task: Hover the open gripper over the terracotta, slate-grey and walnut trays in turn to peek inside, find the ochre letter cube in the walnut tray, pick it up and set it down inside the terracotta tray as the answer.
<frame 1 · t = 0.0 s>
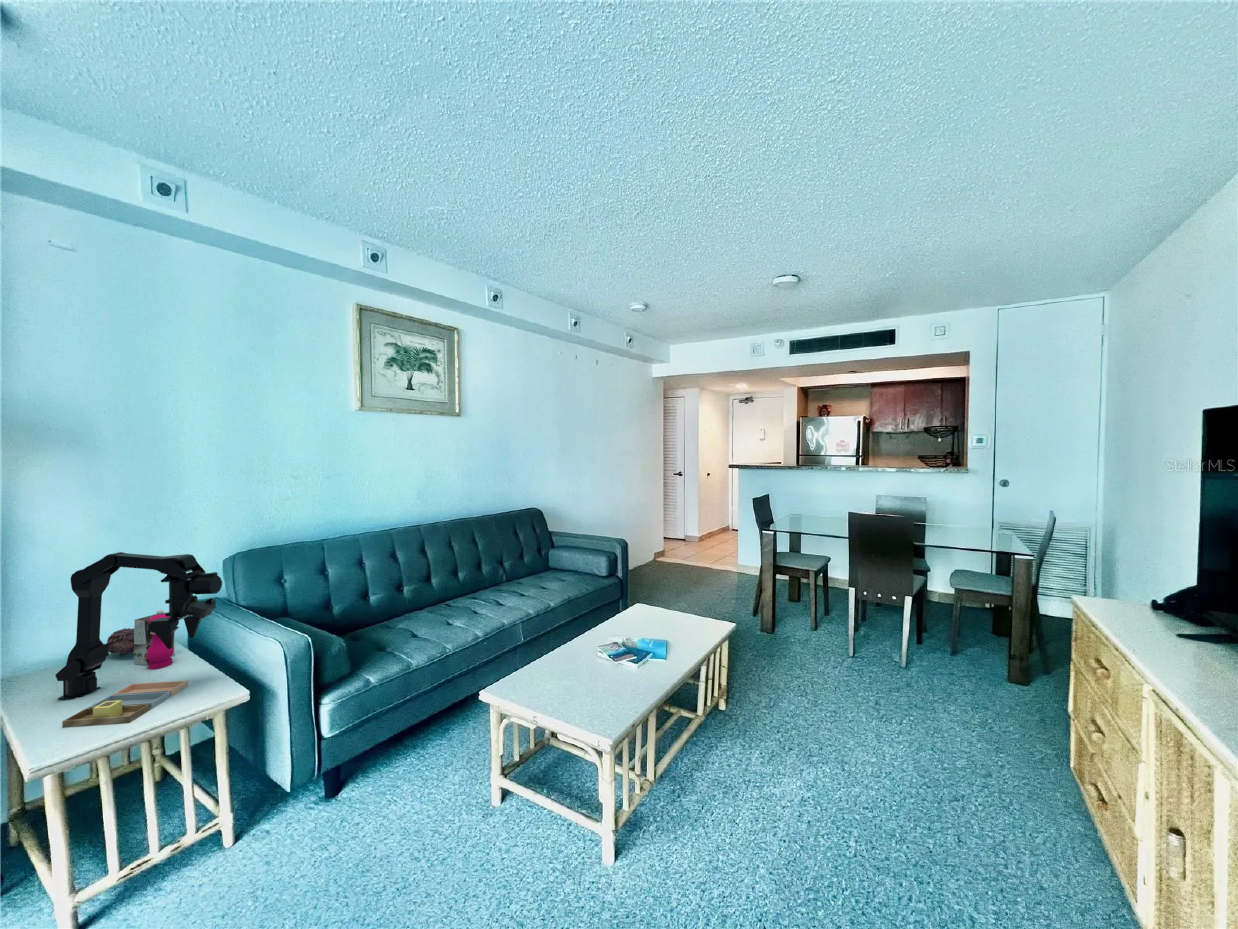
hand: (181, 643, 153), 15 cm above the table, fingers open, 9 cm apart
letter cube: (107, 718, 134), resting on tray c
tray b: (130, 706, 142), on the table
tray a: (151, 694, 149), on the table
pine cone: (125, 655, 178), on the table
coffee box: (154, 660, 175), on the table
pepper mill: (160, 666, 170), on the table
tray c: (107, 720, 134), on the table
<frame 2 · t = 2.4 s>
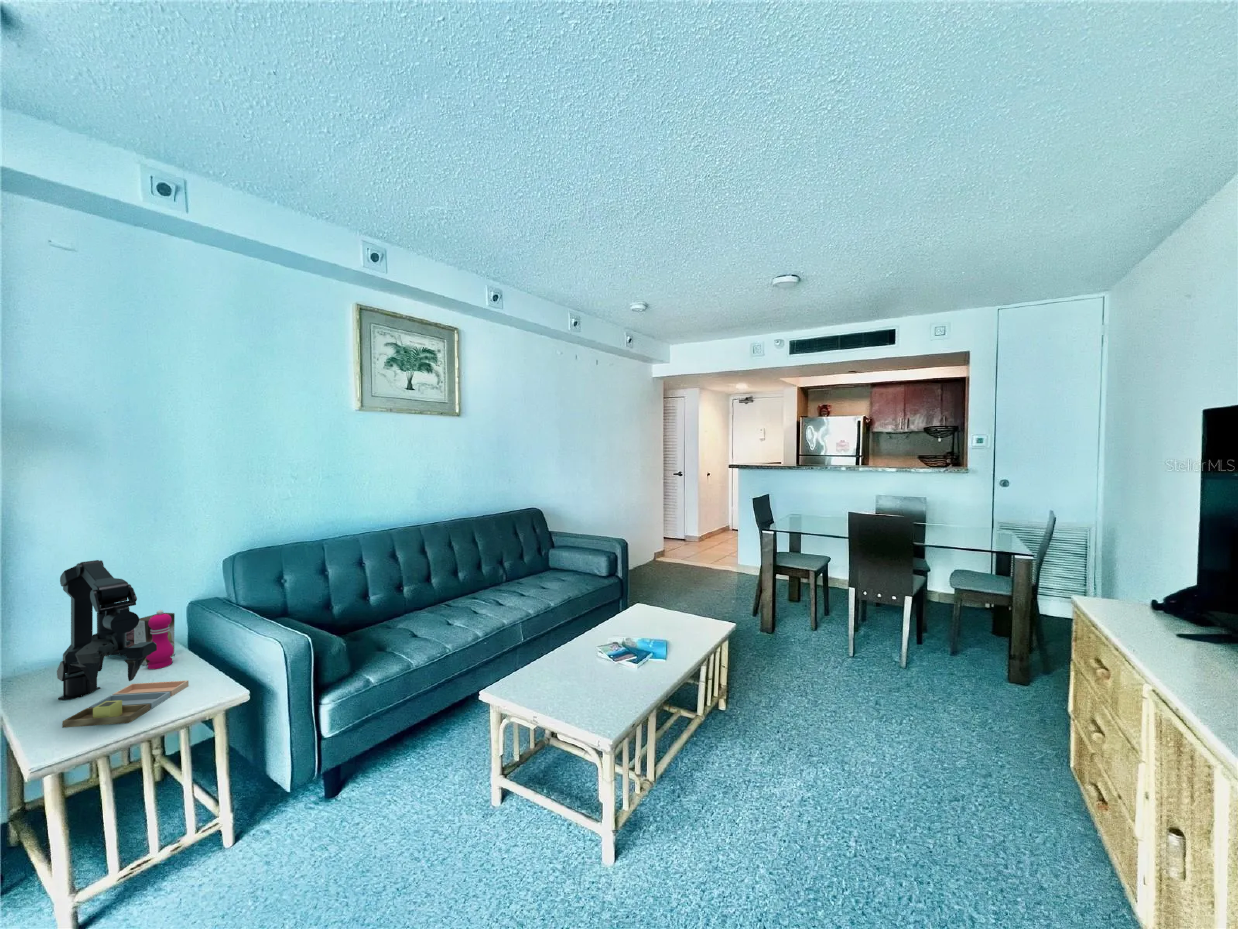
hand: (112, 682, 135), 10 cm above the table, fingers open, 9 cm apart
nothing on the table moved.
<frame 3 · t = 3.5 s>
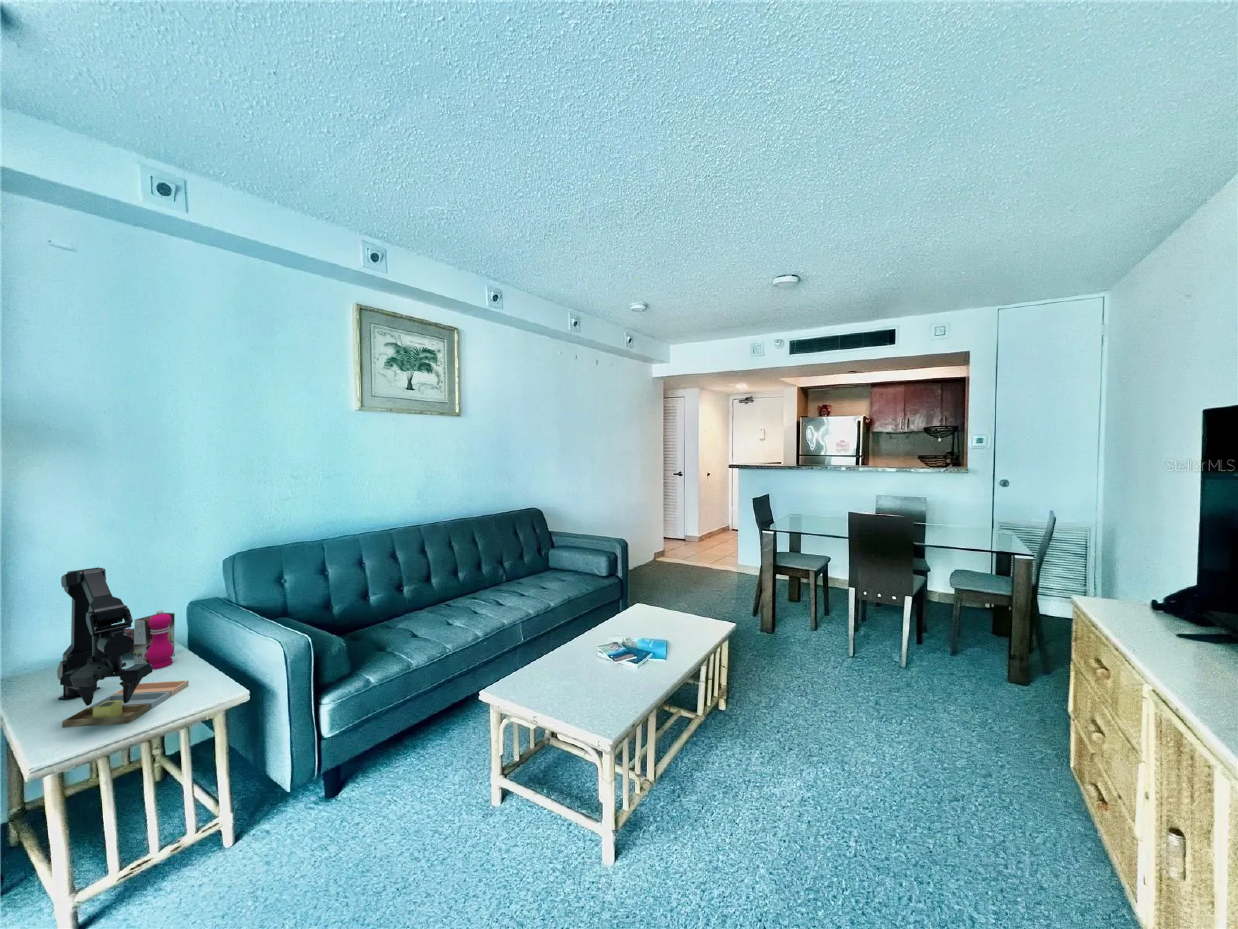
hand: (107, 704, 134), 5 cm above the table, fingers open, 9 cm apart
nothing on the table moved.
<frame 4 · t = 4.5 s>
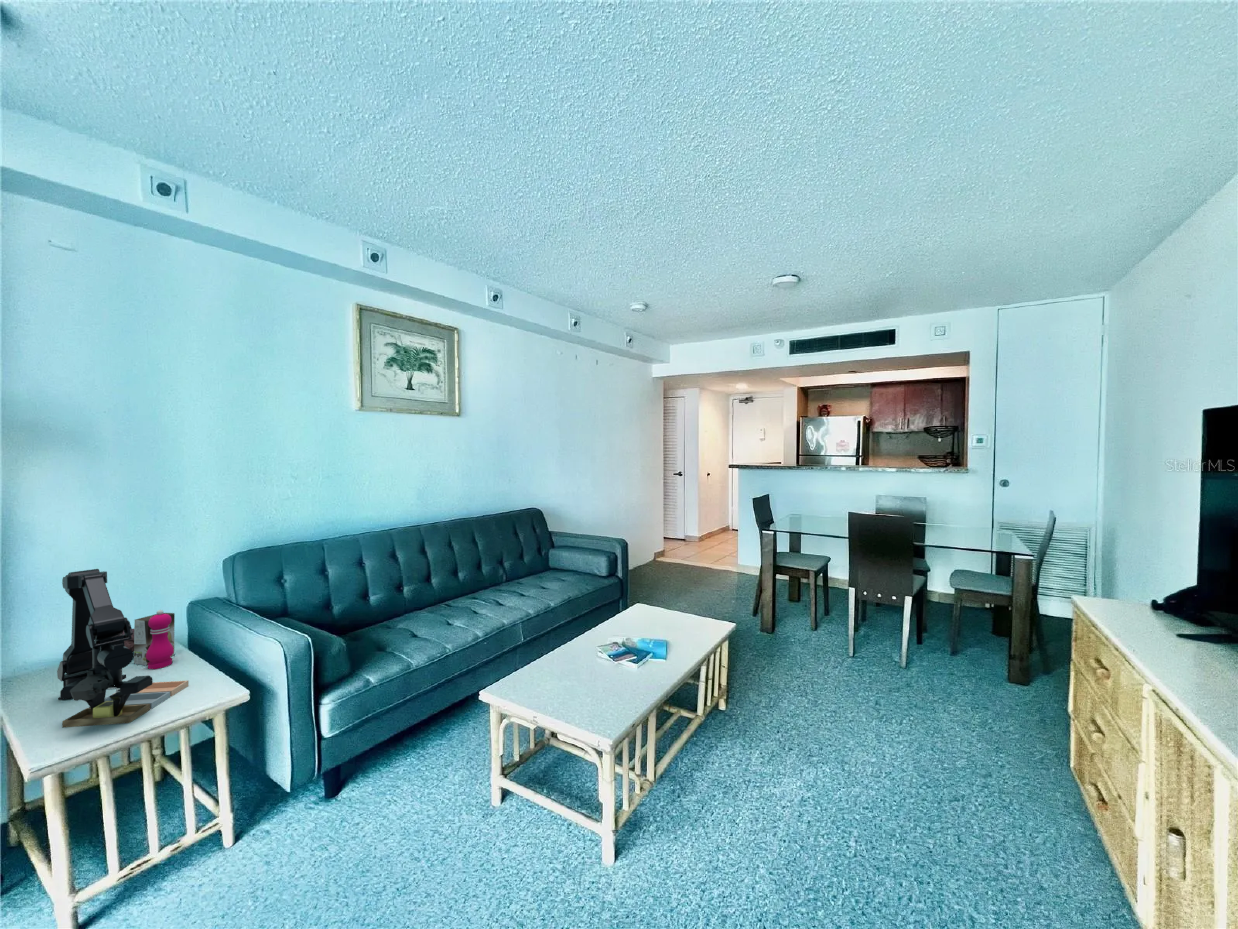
hand: (107, 716, 134), 1 cm above the table, fingers closed on letter cube, 4 cm apart
letter cube: (107, 718, 134), resting on tray c, touching gripper
everything else where it was.
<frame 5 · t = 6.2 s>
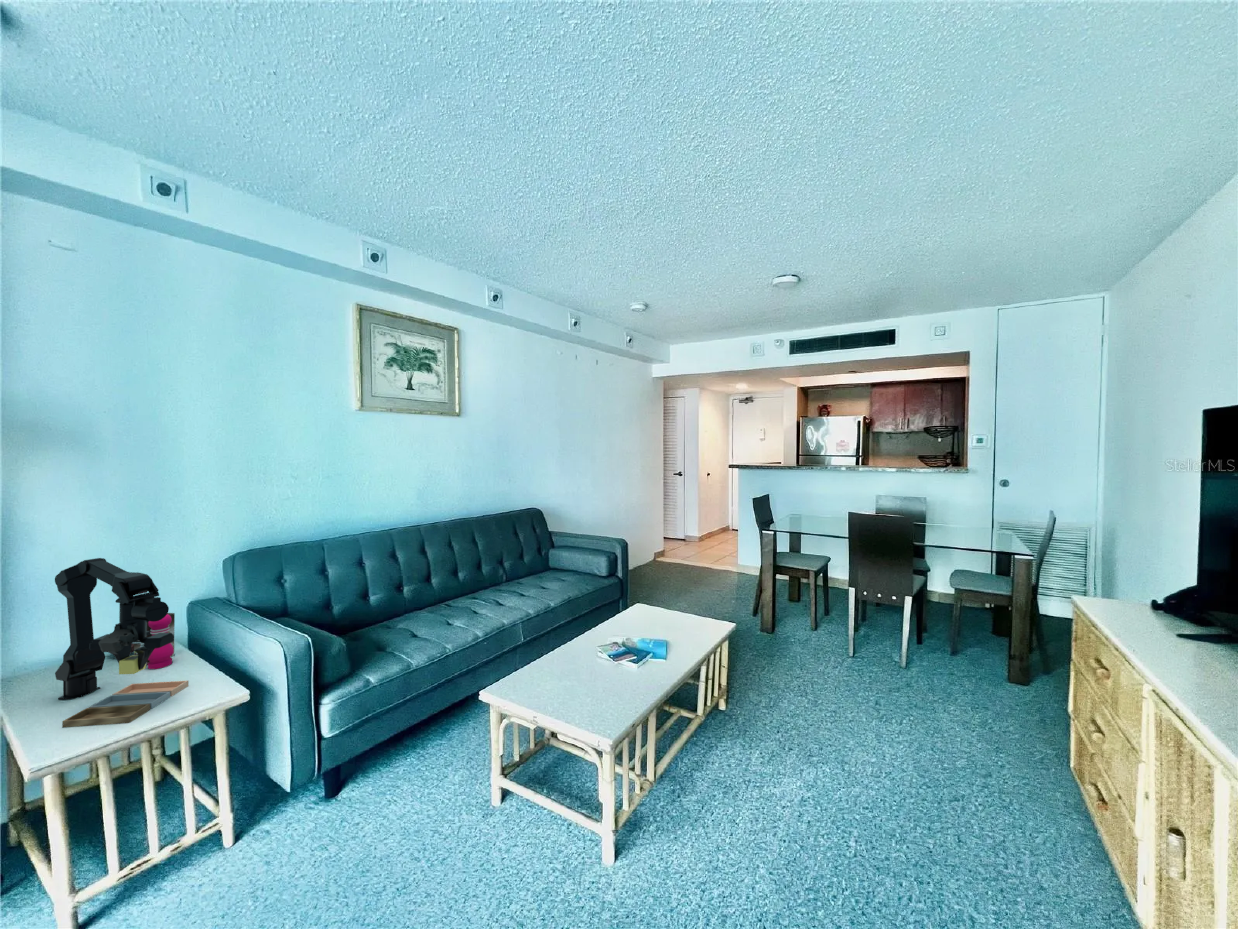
hand: (132, 669, 142), 11 cm above the table, fingers closed on letter cube, 4 cm apart
letter cube: (132, 671, 142), point 10 cm above the table, touching gripper
everything else where it was.
when the fingers open (2 cm above the table, at t = 8.2 s): letter cube drops 1 cm, resting on tray a.
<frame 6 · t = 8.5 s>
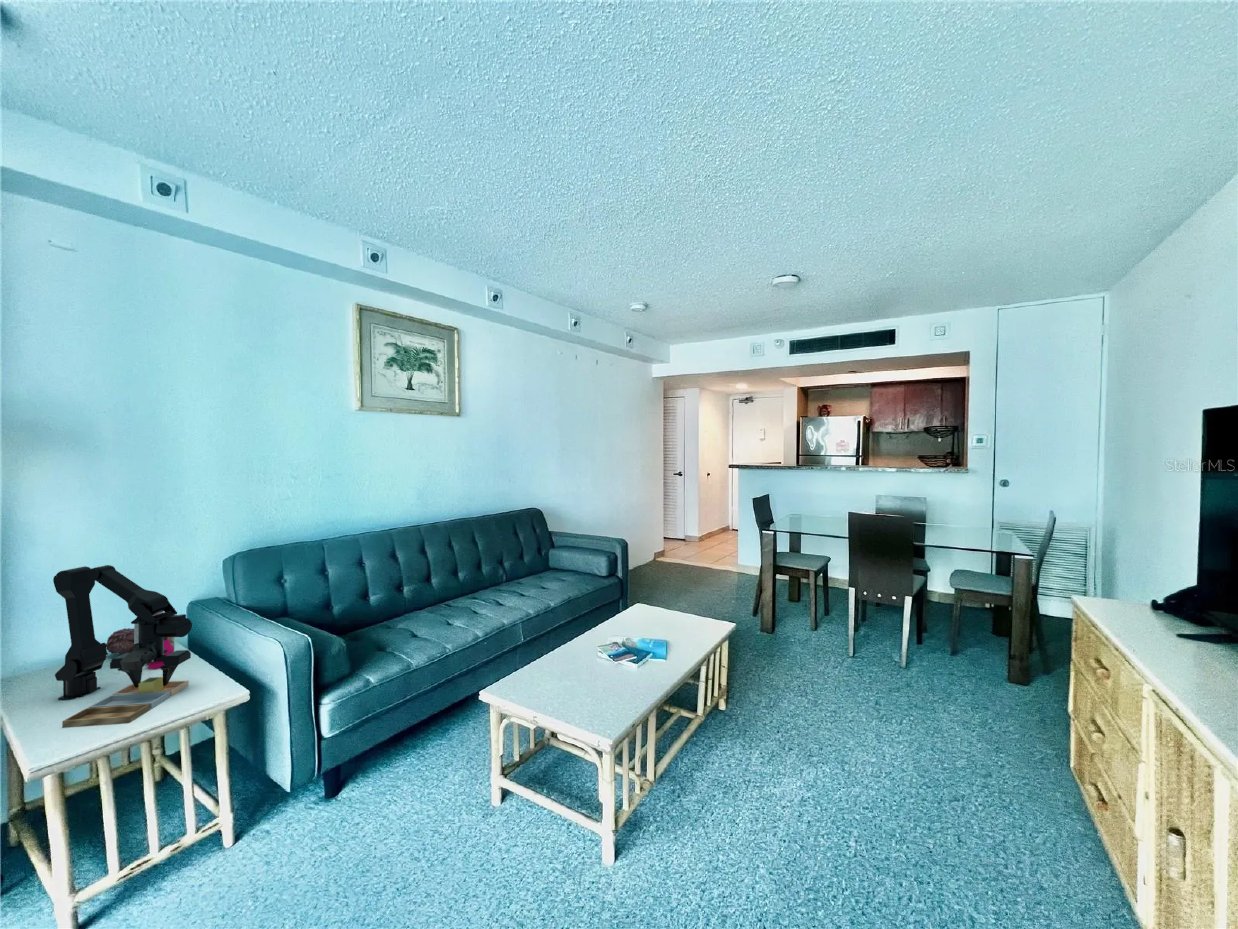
hand: (151, 686, 149), 2 cm above the table, fingers open, 7 cm apart
letter cube: (151, 692, 149), resting on tray a
everything else where it was.
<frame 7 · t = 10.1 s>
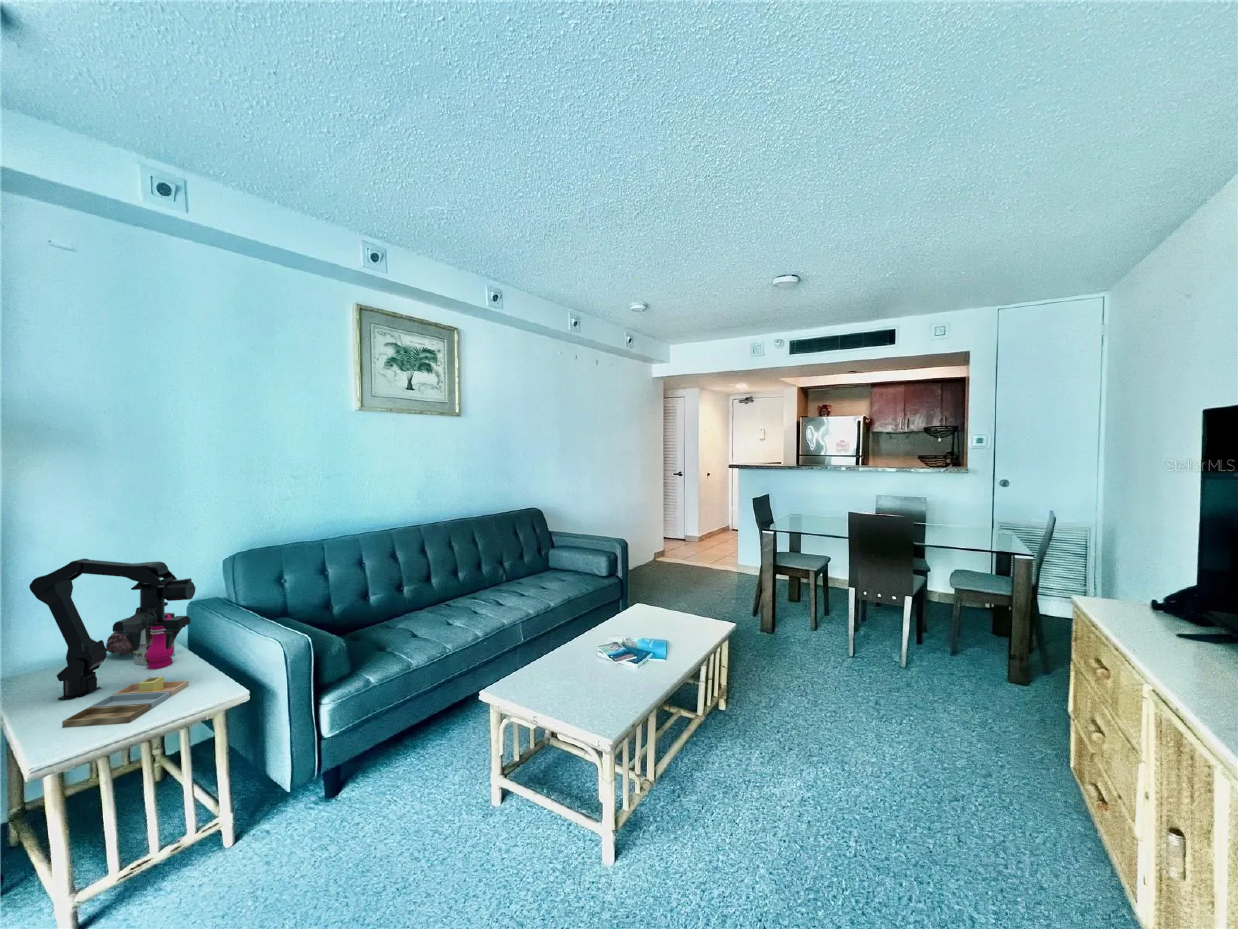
hand: (152, 649, 154), 12 cm above the table, fingers open, 9 cm apart
nothing on the table moved.
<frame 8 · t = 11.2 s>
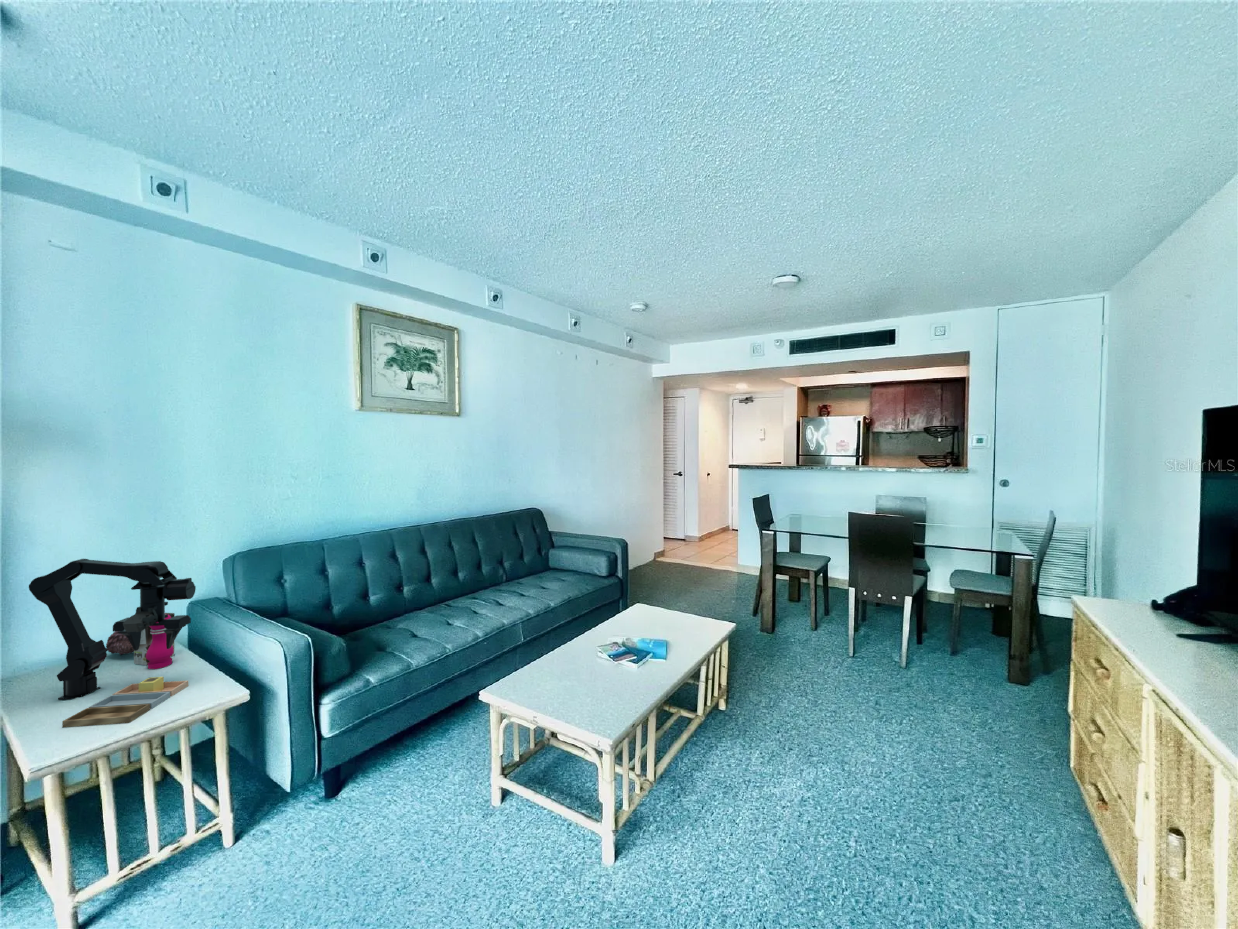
hand: (152, 649, 154), 12 cm above the table, fingers open, 9 cm apart
nothing on the table moved.
at the end: letter cube inside the target area on the tray a (0.1 cm from its centre), point 0.5 cm above the tray a's base; the gripper is holding nothing; letter cube touching tray a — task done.
